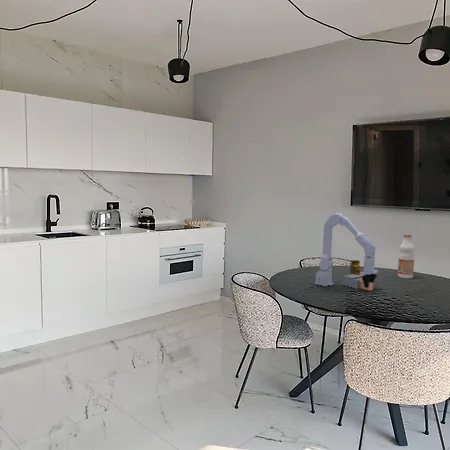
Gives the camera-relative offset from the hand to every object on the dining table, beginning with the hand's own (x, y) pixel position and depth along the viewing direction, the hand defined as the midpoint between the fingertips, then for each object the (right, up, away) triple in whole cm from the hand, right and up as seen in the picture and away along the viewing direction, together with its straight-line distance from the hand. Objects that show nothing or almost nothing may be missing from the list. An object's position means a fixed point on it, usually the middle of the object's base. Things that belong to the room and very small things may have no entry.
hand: (368, 287), depth 258 cm
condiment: (-1, +1, +27) cm, 27 cm away
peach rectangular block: (-1, -1, +2) cm, 3 cm away
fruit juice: (+35, +1, +35) cm, 50 cm away
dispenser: (-6, -1, +8) cm, 10 cm away
